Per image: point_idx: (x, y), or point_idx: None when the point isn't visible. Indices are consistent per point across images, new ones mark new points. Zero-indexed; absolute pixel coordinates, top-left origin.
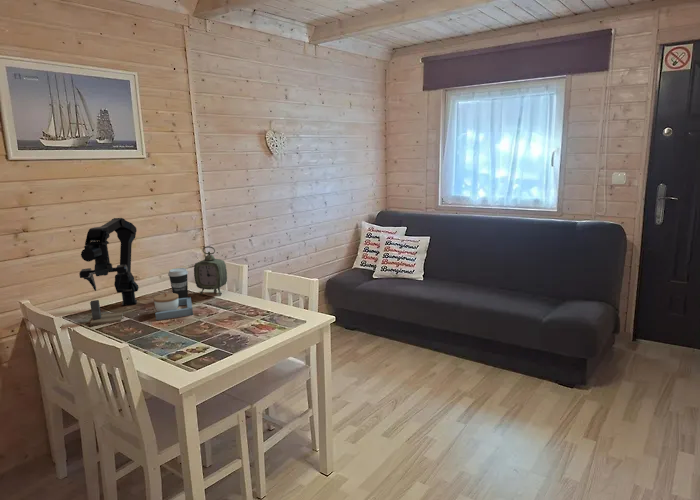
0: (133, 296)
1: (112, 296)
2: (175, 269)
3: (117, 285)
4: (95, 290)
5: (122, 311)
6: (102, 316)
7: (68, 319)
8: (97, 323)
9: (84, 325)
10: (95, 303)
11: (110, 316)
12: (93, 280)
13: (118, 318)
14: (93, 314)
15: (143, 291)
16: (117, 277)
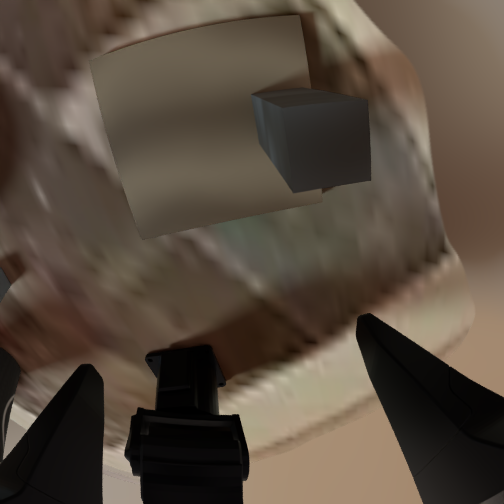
0: (156, 393)
1: (293, 424)
2: None
3: (72, 388)
4: (365, 316)
5: (141, 230)
6: (253, 151)
7: (438, 202)
8: (248, 20)
9: (340, 48)
10: (306, 102)
11: (189, 136)
12: (428, 450)
13: (109, 79)
14: (305, 90)
15: None
16: (13, 487)
